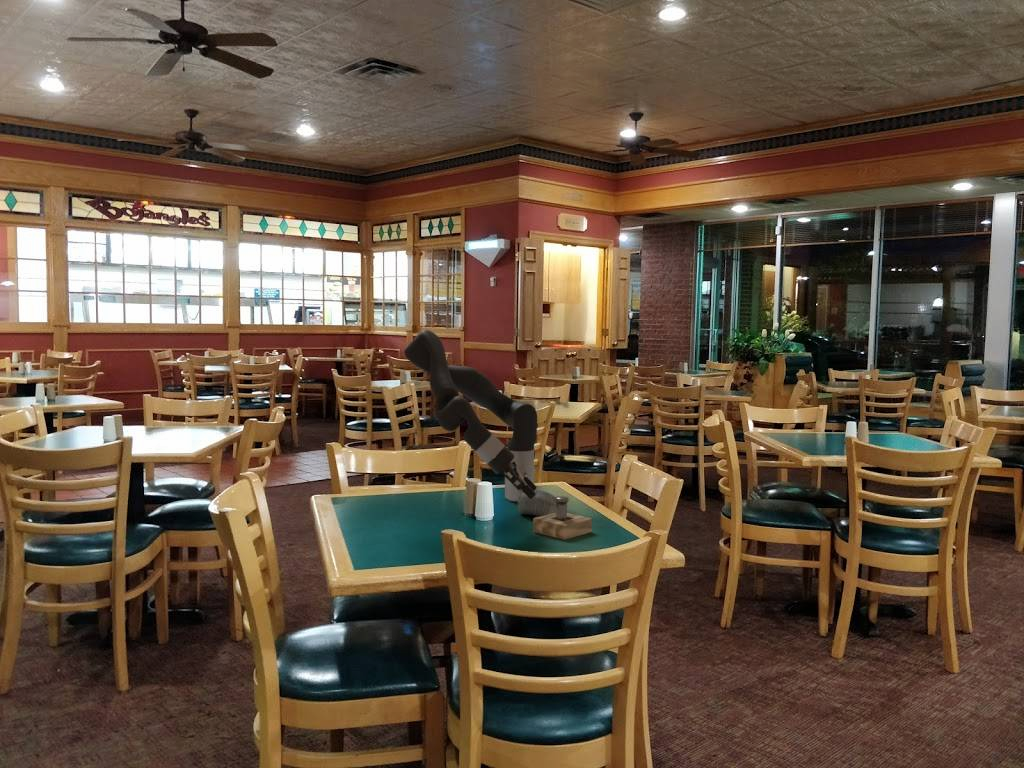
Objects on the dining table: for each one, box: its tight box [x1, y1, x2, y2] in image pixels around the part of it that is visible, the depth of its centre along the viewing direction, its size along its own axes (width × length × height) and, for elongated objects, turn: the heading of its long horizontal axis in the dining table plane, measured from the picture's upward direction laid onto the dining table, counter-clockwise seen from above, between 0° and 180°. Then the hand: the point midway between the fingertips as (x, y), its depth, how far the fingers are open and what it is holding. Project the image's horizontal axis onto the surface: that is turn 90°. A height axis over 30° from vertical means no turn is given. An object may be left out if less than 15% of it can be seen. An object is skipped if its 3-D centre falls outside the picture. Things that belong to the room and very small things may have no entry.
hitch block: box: [532, 512, 593, 541], centre depth 239 cm, size 12×12×4 cm
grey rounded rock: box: [517, 489, 556, 517], centre depth 257 cm, size 14×10×10 cm
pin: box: [554, 495, 570, 522], centre depth 239 cm, size 4×4×10 cm
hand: (534, 493), depth 239 cm, fingers open, 8 cm apart
